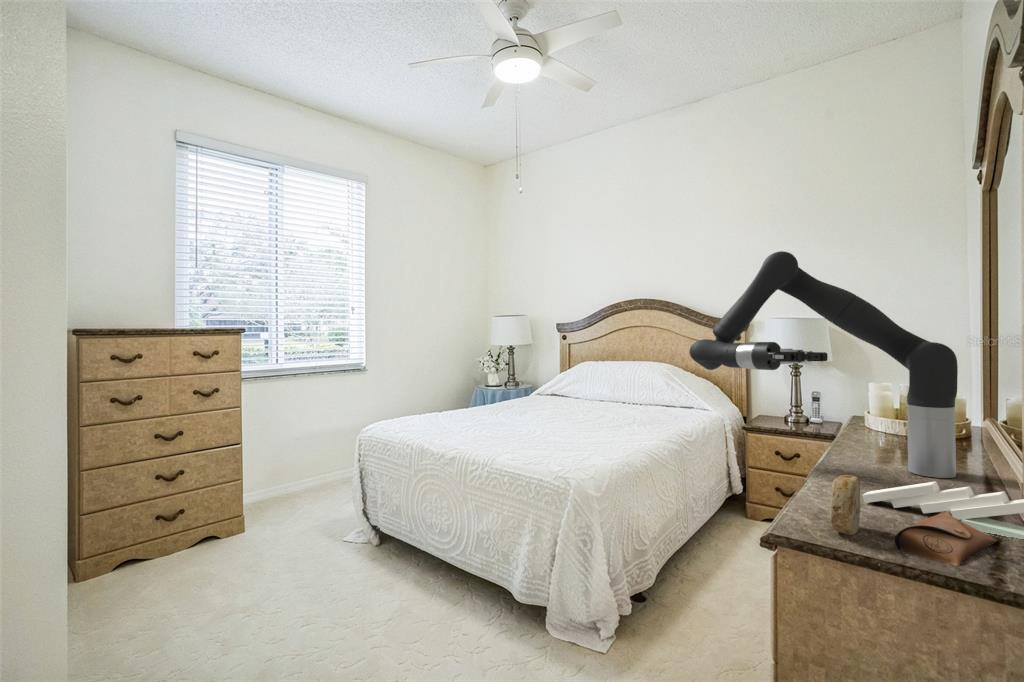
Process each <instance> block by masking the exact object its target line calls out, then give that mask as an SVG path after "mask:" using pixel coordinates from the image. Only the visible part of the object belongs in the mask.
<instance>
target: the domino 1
mask: <svg viewBox="0 0 1024 682" xmlns="http://www.w3.org/2000/svg"><path fill="white" fill-rule="evenodd" d="M938 491H941V489H940V486H939V484H938V482H937V481H935V480H934V481H929V482H923V483H916V484H910V485H909V484H908V485H902V486H896V487H890V488H883V489H877V490H870V491H867V492H865V493H863V494H862V495H861V496H862V498H863V501H864V503H865V504H868V503H874V502H875V503H877V502H882V501H889V500H890V501H891V499H899V498H906V497H913V496H920V495H928V494H935V493H936V492H938Z"/></svg>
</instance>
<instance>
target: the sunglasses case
mask: <svg viewBox="0 0 1024 682" xmlns="http://www.w3.org/2000/svg"><path fill="white" fill-rule="evenodd" d="M996 541H998V540H996V539H995V538H993V537H992V536H991V535H989V534H986V533H982V532H980V531H978V530H976V529H975V528H973V527H971V526H969V525H967V524H965V523H963V522H961V519H959V520H958V519H956V518H954V517H953V516H952V514H951V513H949V511H941V512H940V513H938V514H936V515H932V516H930V517H927V518H925V519H922V520H920V521H918V522H916V523H914V524H912V525H910V526H907V527H904V528H902V529H901V530H900V531H898V532H897V534H896V535H895V537H894V545H895V547H896V548H897V550H898V551H903V552H906V553H910V554H913V555H915V556H920V557H923V558H926V559H927V558H928V559H931V560H934V561H938V562H942V563H944V564H949V565H952V566H956V567H959V566H961V565H962V564H963V562H964V561H965V560H966V559H968V558H969V557H971V556H972V555H974V554H975V553H977V552H978V551H981V550H983V549H985V548H986V547H988V546H987V545H989V544H991V545H993V544H992V543H994V542H996ZM989 546H990V545H989ZM984 547H985V548H984ZM982 548H983V549H982Z"/></svg>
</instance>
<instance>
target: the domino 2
mask: <svg viewBox="0 0 1024 682" xmlns="http://www.w3.org/2000/svg"><path fill="white" fill-rule="evenodd" d="M974 495H975V493H974V491H973V489H972V487H971V486H964V487H963V486H962V487H957V488H956V487H955V488H948V489H943V490H942V489H940V490H939V491H938V492H936V493H935V494H928V495H920V496H913V497H906V498H899V499H891V500H890V502H891V504H892V507H893V509H895V508H896V509H897V508H904V507H913V506H920V505H921V504H929V503H937V502H944V501H952V500H960V499H968V498H970V497H972V496H974Z"/></svg>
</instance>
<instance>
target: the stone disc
mask: <svg viewBox="0 0 1024 682" xmlns="http://www.w3.org/2000/svg"><path fill="white" fill-rule="evenodd" d="M861 504H862V503H861V483H860V478H859V476H855V475H851V474H841V475H839V476H837V477H835V479H834V480H833V481H832V485H831V498H830V509H829V510H830V511H829V518H830V524H831V528H832V530H834V531H836V532H839V533H843V534H845V535H849V536H853V535H854V536H855V535H856V534H857V532H858V530H859V526H860V516H861V508H862V507H861V506H862V505H861Z"/></svg>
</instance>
